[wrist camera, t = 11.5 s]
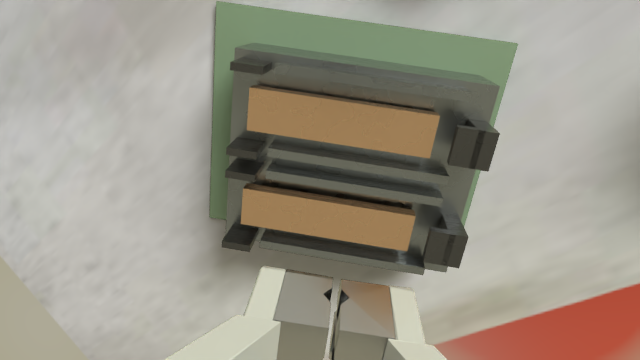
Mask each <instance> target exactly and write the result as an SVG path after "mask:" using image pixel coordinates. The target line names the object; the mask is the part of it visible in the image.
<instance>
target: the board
mask: <svg viewBox="0 0 640 360" xmlns="http://www.w3.org/2000/svg"><path fill="white" fill-rule="evenodd" d="M254 42H255V43H261V44H268V45H275V46H282V47H289V48H296V49H303V50H310V51H317V52H324V53H330V54H337V55H344V56H351V57H358V58H365V59H372V60H379V61H386V62H393V63H399V64H406V65H413V66H420V67H427V68H434V69H441V70H448V71H455V72H462V73H468V74H475V75H481V76H483V77H484V78H486V79H488V80H490V81H492V82H493V83H495V84H497V85H499V86H500V88H499V92H498V95H497V99H496V102H495V106H494V109H493V113H492V116H491V119H490V123H489V124H490V125H491V126H492V127H494V123H495V120H496V117H497V113H498V110H499V107H500V103H501V100H502V96H503V93H504V90H505V86H506V83H507V79H508V76H509V73H510V69H511V66H512V63H513V59H514V56H515V52H516V49H517V46H518V44H517V43H510V42H503V41H496V40H489V39H482V38H475V37H468V36H461V35H454V34H447V33H439V32H432V31H425V30H418V29H411V28H404V27H397V26H390V25H383V24H376V23H368V22H361V21H354V20H347V19H340V18H333V17H326V16H319V15H312V14H305V13H297V12H290V11H283V10H276V9H269V8H262V7H255V6H248V5H241V4H234V3H226V2H219V1H216V30H215V61H214V93H213V124H212V156H211V188H210V217H212V218H218V219H224V220H226V217H227V196H228V178H225V170H226V169H227V168H228V167H229V155H226V147H227V146H229V145H230V135H231V115H232V94H233V74H234V71H232V70H230V62H231V61H233V60H234V53H235V47H239V46H243V45H246V44H250V43H254ZM480 171H481V170H476V171H475V174H474V178H473V181H472V185H471V188H470V192H469V195H468V198H467V202H466V205H465V209H464V212H463V216H462V219H461V222H462V224H463V226H464V225H465V221H466V218H467V215H468V211H469V208H470V205H471V201H472V198H473V194H474V191H475V188H476V184H477V181H478V178H479V174H480Z"/></svg>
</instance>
